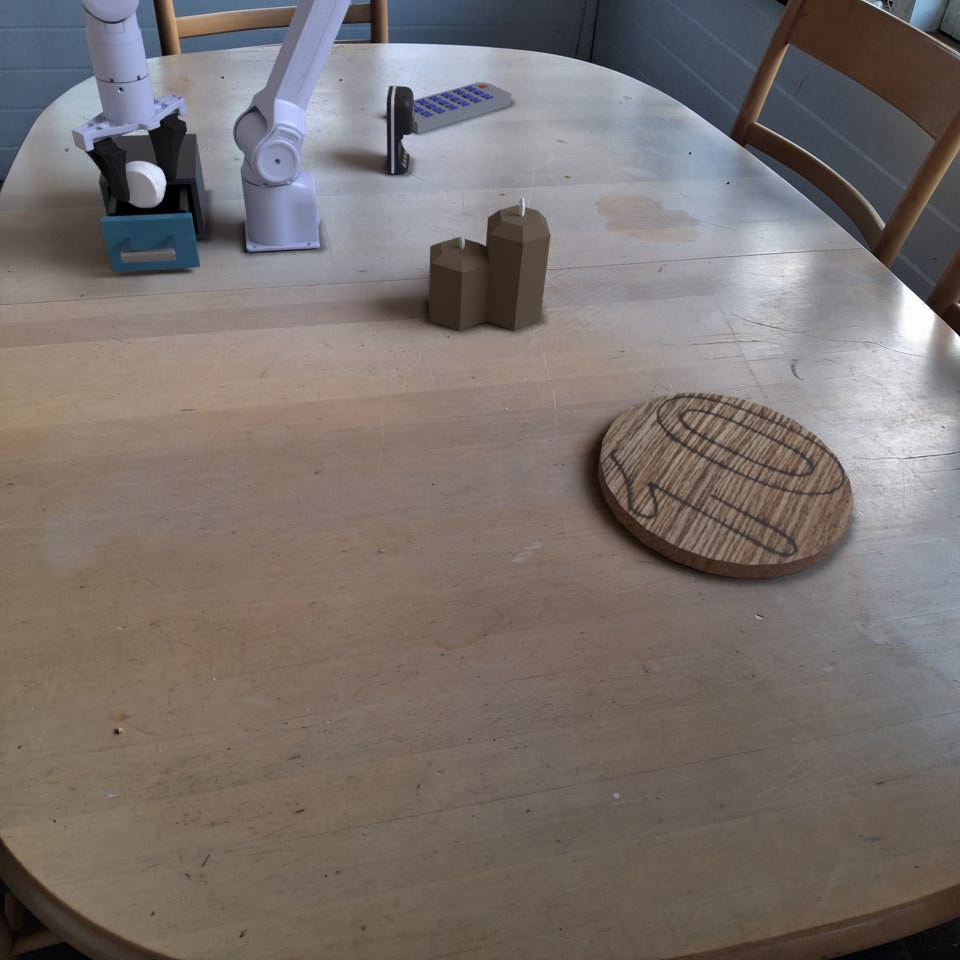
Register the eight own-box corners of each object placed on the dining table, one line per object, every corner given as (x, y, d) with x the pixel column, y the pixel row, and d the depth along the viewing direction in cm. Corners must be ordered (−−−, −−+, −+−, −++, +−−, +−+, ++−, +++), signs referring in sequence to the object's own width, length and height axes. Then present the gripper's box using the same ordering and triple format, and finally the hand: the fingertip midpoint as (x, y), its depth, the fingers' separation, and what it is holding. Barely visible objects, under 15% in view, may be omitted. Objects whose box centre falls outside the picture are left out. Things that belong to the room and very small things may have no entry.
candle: (560, 294, 115) (575, 183, 105) (518, 349, 106) (531, 232, 96) (464, 266, 119) (470, 156, 109) (415, 316, 110) (417, 201, 100)
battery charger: (412, 176, 137) (412, 100, 129) (386, 175, 137) (386, 99, 129) (414, 156, 142) (415, 82, 134) (390, 155, 142) (389, 81, 134)
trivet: (803, 622, 79) (810, 608, 78) (553, 504, 88) (555, 490, 86) (874, 465, 95) (881, 451, 94) (657, 378, 104) (660, 365, 102)
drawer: (199, 287, 110) (191, 236, 105) (109, 292, 108) (96, 241, 103) (200, 219, 122) (192, 171, 117) (119, 223, 120) (107, 174, 115)
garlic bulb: (179, 189, 113) (172, 147, 110) (164, 212, 109) (156, 168, 105) (136, 186, 114) (127, 143, 110) (119, 208, 109) (109, 165, 105)
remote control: (387, 118, 153) (387, 105, 151) (485, 90, 164) (486, 77, 163) (417, 134, 149) (417, 121, 147) (515, 104, 160) (516, 91, 159)
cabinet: (205, 239, 120) (195, 178, 114) (113, 244, 118) (98, 181, 112) (205, 192, 129) (196, 133, 124) (120, 196, 127) (106, 135, 121)
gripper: (91, 101, 95) (119, 221, 104) (196, 66, 104) (213, 178, 113) (48, 84, 97) (79, 201, 107) (154, 51, 106) (174, 162, 116)
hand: (145, 189), depth 110 cm, fingers closed on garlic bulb, 6 cm apart
